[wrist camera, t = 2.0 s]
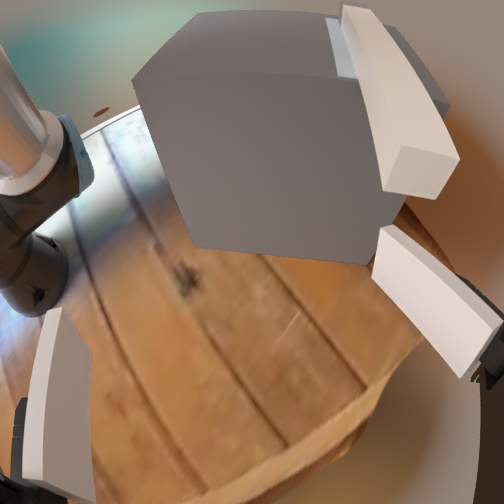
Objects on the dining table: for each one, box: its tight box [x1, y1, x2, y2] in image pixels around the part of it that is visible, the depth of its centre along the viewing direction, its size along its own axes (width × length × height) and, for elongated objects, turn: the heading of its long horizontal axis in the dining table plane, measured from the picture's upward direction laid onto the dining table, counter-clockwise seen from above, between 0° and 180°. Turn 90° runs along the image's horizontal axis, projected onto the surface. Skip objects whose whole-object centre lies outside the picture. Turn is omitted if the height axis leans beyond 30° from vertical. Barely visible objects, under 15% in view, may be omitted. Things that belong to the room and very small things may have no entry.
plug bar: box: [338, 0, 460, 200], centre depth 18 cm, size 28×3×3 cm, turn 172°
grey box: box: [132, 10, 450, 265], centre depth 36 cm, size 20×26×29 cm
